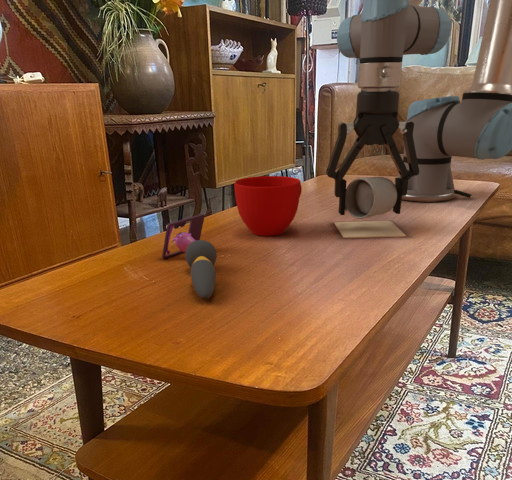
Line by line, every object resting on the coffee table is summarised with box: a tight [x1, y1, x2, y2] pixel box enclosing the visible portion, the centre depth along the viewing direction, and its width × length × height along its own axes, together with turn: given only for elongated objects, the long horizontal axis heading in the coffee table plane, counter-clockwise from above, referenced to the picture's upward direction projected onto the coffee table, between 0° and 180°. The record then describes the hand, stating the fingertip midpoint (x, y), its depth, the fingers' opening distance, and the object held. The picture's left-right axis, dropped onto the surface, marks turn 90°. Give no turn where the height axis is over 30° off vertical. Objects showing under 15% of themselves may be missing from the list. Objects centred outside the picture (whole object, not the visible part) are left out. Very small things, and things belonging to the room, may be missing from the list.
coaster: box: [333, 220, 407, 239], centre depth 105 cm, size 12×12×1 cm
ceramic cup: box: [233, 175, 303, 237], centre depth 105 cm, size 13×17×10 cm
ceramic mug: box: [345, 176, 397, 220], centre depth 102 cm, size 11×8×8 cm
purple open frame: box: [161, 213, 206, 260], centre depth 91 cm, size 7×5×9 cm
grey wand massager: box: [184, 239, 218, 300], centre depth 79 cm, size 20×5×5 cm, turn 12°
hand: (368, 213), depth 104 cm, fingers closed on ceramic mug, 10 cm apart
